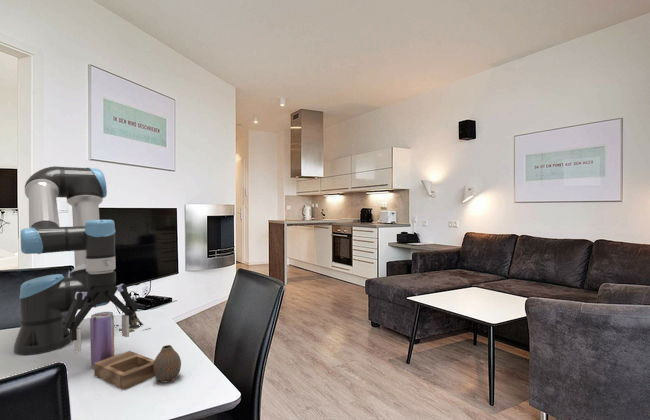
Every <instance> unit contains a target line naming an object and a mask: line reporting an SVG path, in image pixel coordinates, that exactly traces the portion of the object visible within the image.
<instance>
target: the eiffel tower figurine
mask: <svg viewBox="0 0 650 420" xmlns="http://www.w3.org/2000/svg"><path fill="white" fill-rule="evenodd" d="M131 298H132V300H133V302H134V303H135V297H134V296H131ZM136 312H137V311H135V312H133V315H131V325H129V334H130V333H133V332H136V330H138V329H139V328H140V326H139V325H142V326H144V323H143V322H142V321H141V320H140V317H139V318H138V316H137V313H136ZM115 325H116V326H117V327H119V326H120V325H119V324H114V327H115ZM144 329H145V330H149V329H152V328H151V327H149V328H144ZM145 330H144V331H145ZM118 331H119V332H120V331H122V328H119V330H118Z"/></svg>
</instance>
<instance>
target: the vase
mask: <svg viewBox="0 0 650 420" xmlns="http://www.w3.org/2000/svg"><path fill="white" fill-rule="evenodd" d="M154 360H155V361H154V365H153V371H154V375H155V377H154V378H155V379H156V380H157V381H159V382H161V383H168V382H172V381H174V380H176V378H177V377H178V375H179V374H180V372H181V367H182V361H181V357H180V355H179V353H178V352H177V350H175V349H174V348H173V346H172V345H171V344H166V345H163V346H162V347H161V349H160V351H159V352H158V353H157V355H156V356H155V359H154Z"/></svg>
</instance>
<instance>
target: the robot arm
mask: <svg viewBox="0 0 650 420" xmlns="http://www.w3.org/2000/svg"><path fill="white" fill-rule="evenodd" d="M107 191H108V190H107V181H106V178H105V174H104V172H103V171H102V170H101V169H99V168H91V167H75V166H74V167H71V166H49V167H45V168H42V169H39V170H37V171H36V172H34V173H33V174H32V175H30V176H29V178H28V179H27V180H26V182H25V185H24V194H25V196H26V198H27V199H28V228H27V227H26V228H23V229H21V230H20V252H21V253H23V254H27V255H29V254H30V255H33V254H35V255H36V254H37V255H41V254H50V253H51V254H52V253H63V252H74V254H73V255H74V268H73V269H72V270H71V271H70V272H69V275H70V276H69V277H65V276H64V275H63V274H62V273H61V274H60V273H56V274H49V275H44V276H39V277H34V278H32V279H29V280H26V281H24V282H23V283H22V284H21V285H20V287H19V288H20V290H19V291H20V292H19V298H18V299H20V304H19V305H20V327H19V331H18V333H17V336H16V339H15V341H14V344H13V349H14V350H13V351H14V353H15V354H17V355H24V356H25V355H35V354H36V355H37V354H42V353H47V352H51V351H54V350H58V349H60V348H63V347H65V346H67V345H69V344H70V343H71V342H72V341H73V342H72V345H73V347H72V348H73V352H75V353H80V352H82V343H81V342H82V341H81V340H82V337H81V333H82V332H81V330H82V329H81V327H79V326H80V324H81V323H82V321H83V320H84V319H85V318H86V316H87V315H88V314H89V312H90V311H91V310H92V309H93V308H98V307H102V306H107V305H108V304H109V303H110V302H112V304H113V305H114V306H115V307H117V308H118V310H120V311H121V312H122V313H124V314H121V329H122V332H121V336H122V337H125V338H130V333H129V325H131V315H133V312H137V311H138V307H137V304H135V301H134V302H133V300H132V296H131V295H130V293H129V292H128V285H127V284H125V283H119V284H118V285H117V284H116V282H117V272H116V271H115V270H116V266H117V265H116V261H117V260H116V232H117V231H116V227H115V226H116V224H115V221H114V220H113V219H100V208H99V205H101V204H102V203H103V200H104V199H105V198H106V197H107V193H108V192H107ZM57 198H66V203H67V204H68V205H70V206H71V213H72V214H71V215H72V226H60V219H59V211H58V201H57ZM117 292H119V294H120V295H121V297H122V299H123V301H124V302H125V304H126V305H125V304H124V303H123V302H122V301H121V300H120V299H119V298H118V297H117V296H116V295H115V294H117ZM65 313H66V314H65Z"/></svg>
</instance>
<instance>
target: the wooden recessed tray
mask: <svg viewBox="0 0 650 420" xmlns="http://www.w3.org/2000/svg"><path fill="white" fill-rule="evenodd" d="M154 361H155V359H153V358H150V357H148V356H145V355H142V354H139V353H137V352H134V351H131V350H129V351H125V352H123V353H120V354H116V355H114V356H113V357H110V358H107V359H105V360H102V361H99V362H96V363H94V368H93V373H94V374H93V376H94V377H96V378H99V379H100V380H103V381H104V382H106V383H108V384H111V385H113V386H114V387H118V388H119V389H121V390H126V389H129V388H131V387H134V386H135V385H138V384H140V383H143V382H145V381H147V380H151V379H152V378H156V377H155V375H154V371H153V365H154Z"/></svg>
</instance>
